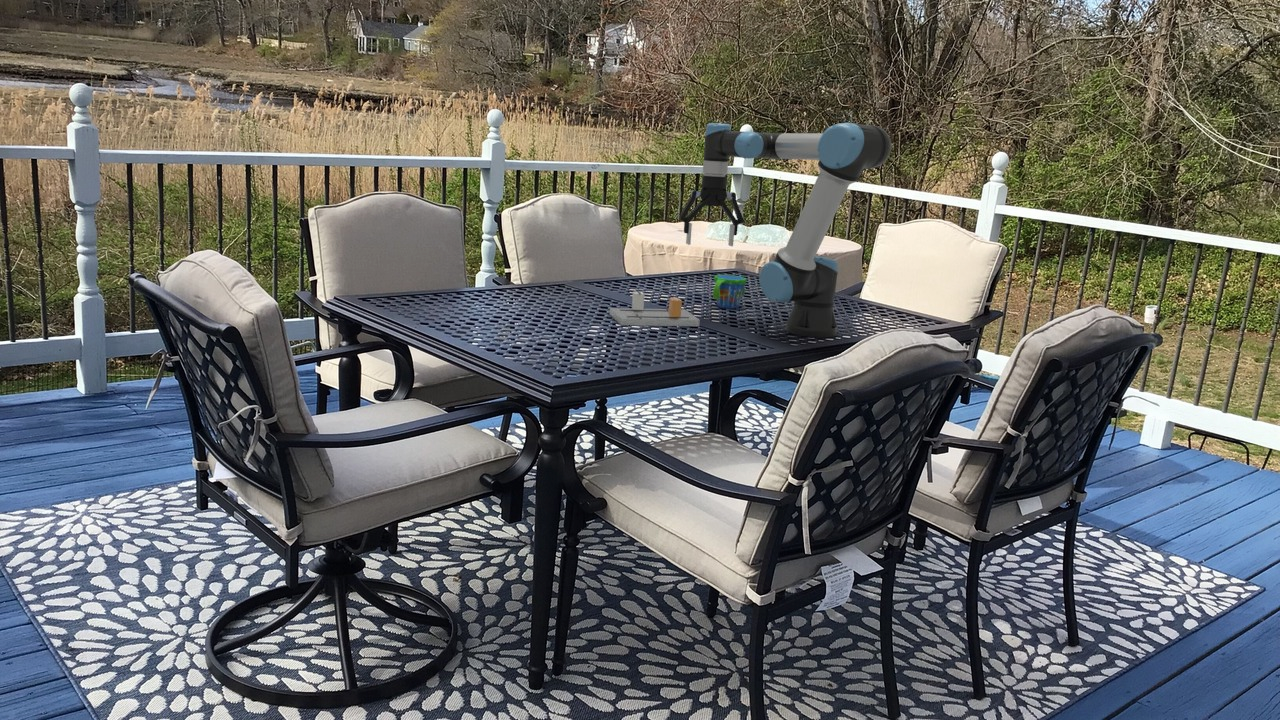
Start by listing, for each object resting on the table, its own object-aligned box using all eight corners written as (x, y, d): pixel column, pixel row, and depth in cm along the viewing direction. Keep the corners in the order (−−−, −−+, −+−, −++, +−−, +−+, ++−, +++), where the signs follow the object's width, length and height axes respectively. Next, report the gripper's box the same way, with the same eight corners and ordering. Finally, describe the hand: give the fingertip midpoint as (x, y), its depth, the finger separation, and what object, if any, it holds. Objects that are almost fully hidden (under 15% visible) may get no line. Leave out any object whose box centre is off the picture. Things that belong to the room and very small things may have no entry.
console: (699, 326, 293) (699, 319, 292) (621, 325, 287) (621, 318, 286) (684, 315, 308) (684, 308, 308) (609, 314, 303) (609, 307, 302)
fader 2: (680, 317, 292) (682, 299, 291) (671, 317, 291) (672, 299, 290) (677, 314, 296) (678, 297, 294) (668, 314, 295) (669, 297, 294)
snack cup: (731, 302, 336) (733, 273, 334) (755, 308, 329) (757, 278, 327) (700, 306, 326) (702, 276, 323) (724, 312, 319) (726, 281, 316)
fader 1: (643, 310, 299) (644, 292, 298) (634, 309, 299) (635, 292, 297) (640, 307, 303) (641, 290, 302) (631, 307, 302) (632, 290, 301)
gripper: (750, 176, 305) (744, 244, 309) (672, 172, 300) (667, 242, 304) (757, 178, 297) (751, 247, 302) (677, 174, 292) (673, 245, 297)
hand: (709, 245), depth 303 cm, fingers open, 13 cm apart
